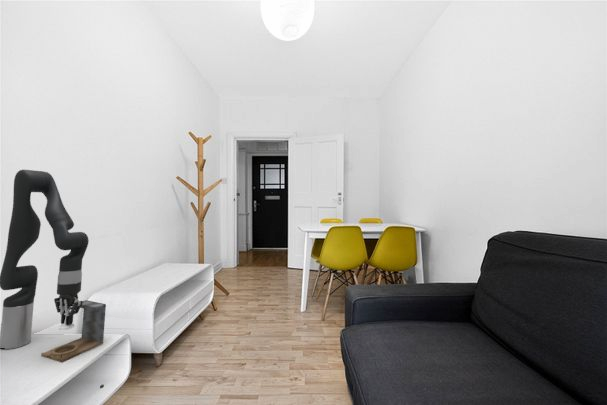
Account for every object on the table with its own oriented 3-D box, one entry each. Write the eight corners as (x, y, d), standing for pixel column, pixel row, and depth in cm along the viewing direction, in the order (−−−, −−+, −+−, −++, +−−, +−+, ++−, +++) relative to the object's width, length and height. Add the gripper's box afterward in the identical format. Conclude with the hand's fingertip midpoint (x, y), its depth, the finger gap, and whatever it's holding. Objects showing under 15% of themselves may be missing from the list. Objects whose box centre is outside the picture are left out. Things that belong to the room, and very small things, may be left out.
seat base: (40, 356, 109) (44, 312, 109) (83, 338, 124) (86, 300, 125) (61, 362, 105) (64, 317, 106) (103, 343, 121) (105, 304, 121)
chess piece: (64, 331, 108) (66, 305, 108) (54, 329, 109) (56, 304, 109) (77, 326, 113) (79, 301, 113) (67, 324, 114) (69, 300, 114)
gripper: (47, 281, 110) (44, 324, 109) (71, 285, 106) (68, 330, 105) (68, 277, 117) (65, 317, 117) (91, 280, 113) (88, 323, 113)
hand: (66, 323), depth 111 cm, fingers closed on chess piece
